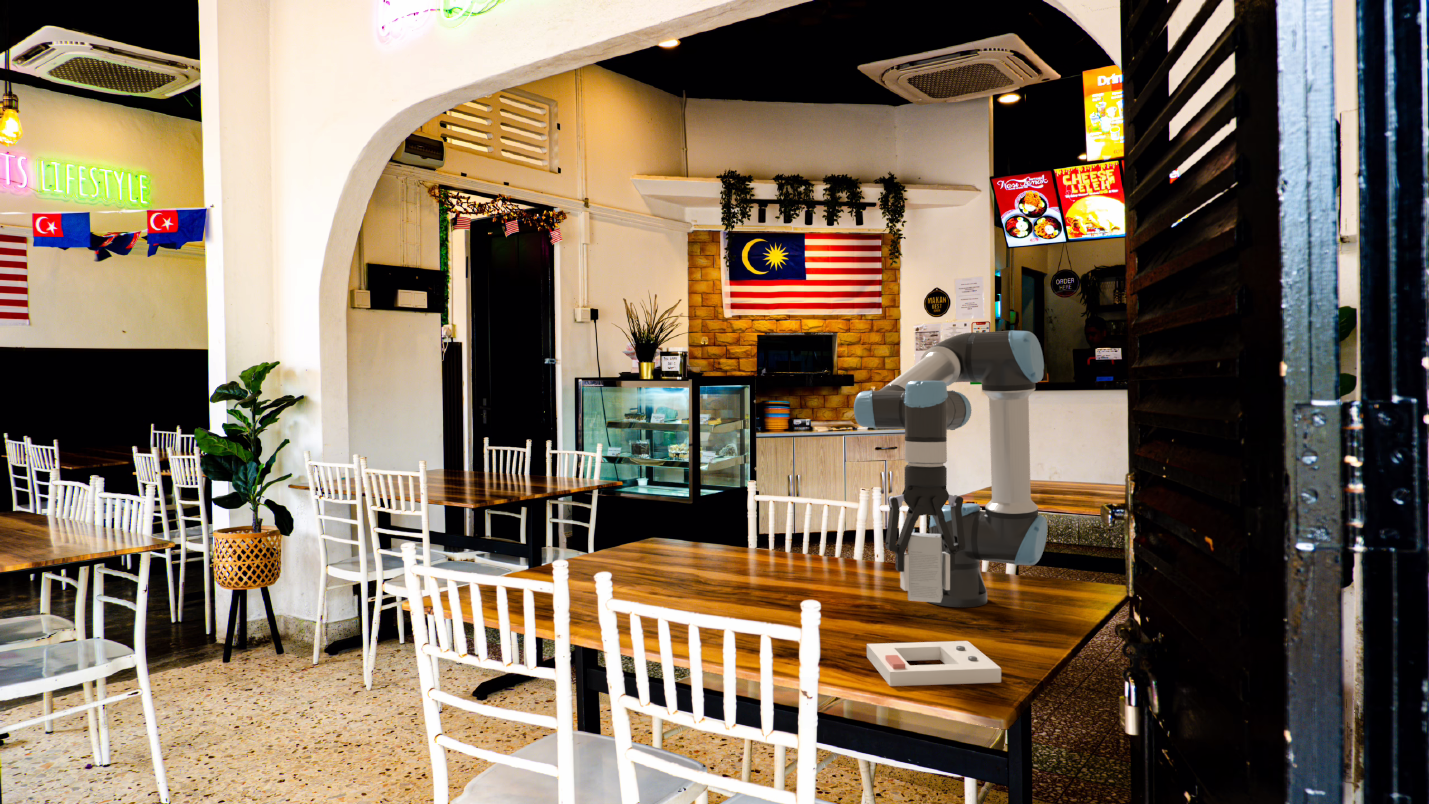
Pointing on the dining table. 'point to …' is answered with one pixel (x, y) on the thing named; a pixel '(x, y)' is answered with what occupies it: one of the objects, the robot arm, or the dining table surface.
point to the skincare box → (925, 567)
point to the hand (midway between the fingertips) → (925, 588)
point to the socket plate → (957, 669)
